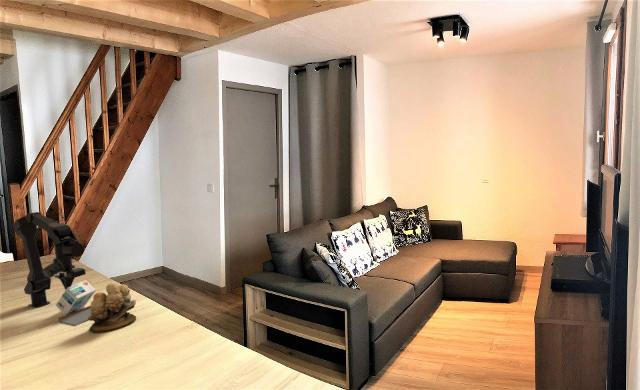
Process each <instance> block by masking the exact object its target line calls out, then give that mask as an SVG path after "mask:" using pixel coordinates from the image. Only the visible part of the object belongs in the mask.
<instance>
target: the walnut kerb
mask: <svg viewBox="0 0 640 390" xmlns="http://www.w3.org/2000/svg"><path fill="white" fill-rule="evenodd" d="M90 308H91V304H90V305H88V306H84V307H83V308H81V309H79V310H77V311H75V312H72V313H69V314H67V315H64V314H63V315H62V316H59V317H57V321H58V320H61V319H64V318H66V317H69V316H71V315H74V314H77V313H79V312H82V311H84V310H87V309H90Z"/></svg>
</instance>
